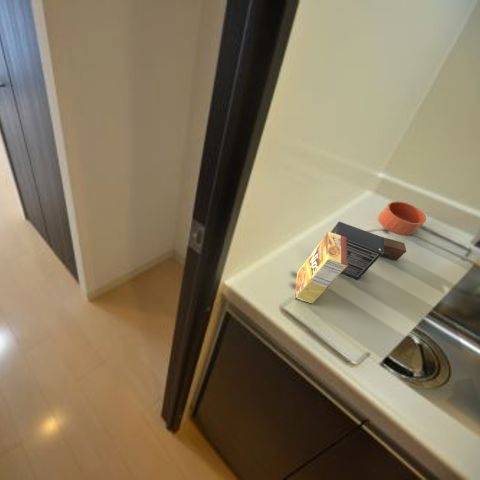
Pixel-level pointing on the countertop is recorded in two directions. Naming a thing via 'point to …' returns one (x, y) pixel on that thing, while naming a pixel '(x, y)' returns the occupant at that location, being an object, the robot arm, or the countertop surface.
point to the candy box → (322, 267)
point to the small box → (359, 249)
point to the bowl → (401, 218)
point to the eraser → (393, 249)
